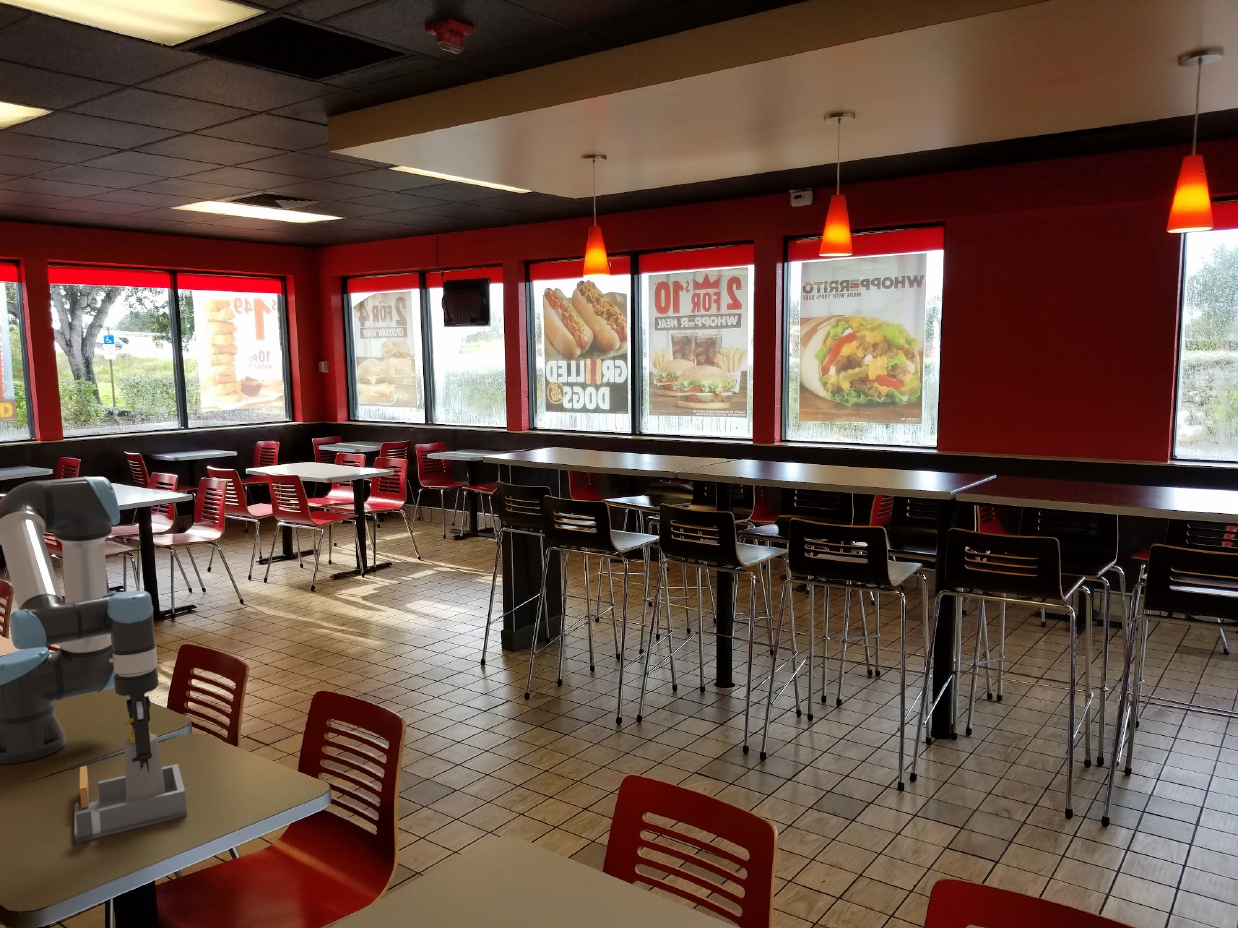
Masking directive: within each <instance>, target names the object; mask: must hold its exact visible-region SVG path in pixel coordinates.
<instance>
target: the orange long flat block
mask: <svg viewBox="0 0 1238 928" xmlns="http://www.w3.org/2000/svg"><path fill="white" fill-rule="evenodd" d="M88 778H89V776H88V766H87V765H84V766H80V767H79V794H80V805H81V808H85V807H89V803H90V802H89V779H88Z"/></svg>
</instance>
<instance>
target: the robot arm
mask: <svg viewBox="0 0 1238 928" xmlns="http://www.w3.org/2000/svg"><path fill="white" fill-rule="evenodd" d="M120 514H121V513H120V507H119V503H118V499H117V495H116V493H115V490H114V487H113V485H112V483H111V482H110V480H109V479H108V478H106V477H104V476H86V475H85V476H80V477H69V478H61V479H60V478H57V479H50V480H49V479H46V480H32V481H28V482H25V483H22V484H20V485H18V486H16V487H13V488H12V489H11V490H10V491H8V492H7V493H6V494H5V495H4V496H3V497H2V498H1V499H0V546H1V547H2V552H3V556H4V560H5V563H6V567H7V571H8V575H9V578H10V583H11V586H12V590H13V593H14V594H13V595H14V597H15V602H16V606H17V609H18V610H17V611H13V612H12V613H10V616H9V628H10V635H11V640H12V641H11V642H12V644H13V647H14V648H15V649H17V651H13V652H11V653H8V654H6V655H3V656H2V657H0V765H10V764H18V763H19V764H20V763H25V762H29V761H33V760H34V761H35V760H37V759H41V758H44V757H48V756H49V755H52V754H53V753H56V752H58V751H59V750H61V749H62V748H63V747H64V746H65V745H66V743H67V740H66V733H65V731H64V729H63V727H62V725H61V723H60V721H59V719H58V717H57V715H56V713H55V707H54V706H55V705H54V702H57V701H61V700H66V699H72V698H75V697H80V696H85V695H90V694H94V693H102V692H103V691H106V690H110V689H113V688H114V692H115V693H116V695H118V696H122V697H127V696H129V698H128V699H127V698H126V699H125V700H126V708H127V712H128V716H129V719H131V718H132V717H133V721H134V722H133V723H130V725H131V727H132V731H131V734H133V730H134V736H135V744H136V758H133V759H132V762H135V761H140V768H141V769H142V768H143V766H144V765H143V764H144V763H146V765H147V769H148V773H149V764H148V759H149V758H151V757H152V753H151V748H150V737H149V731H150V728H149V725H150V724H149V723H150V721H151V715H150V709H151V699H150V695H146V694H147V693H149V692H152V691H154V690H157V688H158V686H159V673H158V669H157V668H156V667H157V665H158V658H157V646H156V640H155V639H156V638H155V637H156V636H155V624H154V623H155V622H154V606H153V603H152V601H153V600H152V596H151V594H150V592H148V591H147V590H146V591H145V590H131V591H130V590H129V591H122V592H119V591H112V592H107V590H108V589H107V587H108V586H107V566H106V565H107V563H106V543H105V542H106V539H108V537H110V536H111V535H112V533H113V529H112V526H115V525H118V524H119V523H120V521H121V520H120V519H121V515H120ZM46 532H49V533H50V532H53V538H54V539H55V540H57V541H58V542H60V543H61V544H62V547H61V549H62V565H63V569H62V570H63V584H64V585H63V588H64V599H63V596H62V593H61V589H60V586H59V582H58V580H57V575H56V573H55V569H54V565H53V563H52V560H51V557H50V553H49V550H48V547H47V544H46V540H45V537H44V535H45V533H46ZM57 644H59V650H55V651H50V650H49V648H48V647H49V646H52V645H53V646H54V645H57ZM146 752H147V753H146ZM141 753H142V754H141Z"/></svg>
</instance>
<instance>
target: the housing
mask: <svg viewBox="0 0 1238 928" xmlns="http://www.w3.org/2000/svg"><path fill="white" fill-rule="evenodd" d="M162 772H163V779H164V785H165V793H164V794H159V795H155V796H151V797H147V798H143V799H138V800H134V801H130V802H126V778H125V775H121V776H117V777H113V778H108V779H104V780H98V781H97V787H98V799H99V800H95V801H93V802H92V801H91V802H89V807H85V808H81V804H80V803H79V802H76V803H74V829H73V830H74V832H73V833H74V844H79V843H83V842H86V841H91V840H95V839H99V838H102V837H107V836H110V835H114V834H119V833H122V832H126V831H130V830H134V829H138V828H143V827H146V826H151V825H154V824H157V823H162V822H166V821H169V820H174V819H178V818H181V817H186V816H187V815H188V814H187V811H188V810H187V801H186V789H185V786H184V783H183V778H182V774H181V770H180V766H179V763H175V764H171V765H166V766H162Z"/></svg>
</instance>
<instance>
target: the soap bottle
mask: <svg viewBox="0 0 1238 928" xmlns="http://www.w3.org/2000/svg"><path fill="white" fill-rule="evenodd" d="M133 722H134V721H133V717H132V718H131V719H130V718H129V719H127V720H126V721H125V724H126V725H129V724H130V723H133ZM130 725H131V724H130ZM132 731H133V734H132V733H131V734H130V737H128V738H127V739H126V740H125V741H124V744H123V747H124V749H123V750H124V770H125V771H124V773H125V775H124V776H125V778H126V802H130V801H134V800H138V799H143V798H147V797H151V796H155V795H159V794H164V793H165V785H164V779H163V772H162V767H163V766H162V760H161V759H162V758H161V753H160V746H159V740H158V734H155V733H151V731H150V730H149V737H150V748H151V753H152V757H151V758H149V759H148V764H149V773H148V769H147V765H146V763H144V764H143V765H144V766H143V768H142V769H141V768H140V761H135V762H132V759H133V758H136V744H135V736H134V730H132ZM146 753H147V752H146ZM141 754H142V753H141Z"/></svg>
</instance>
